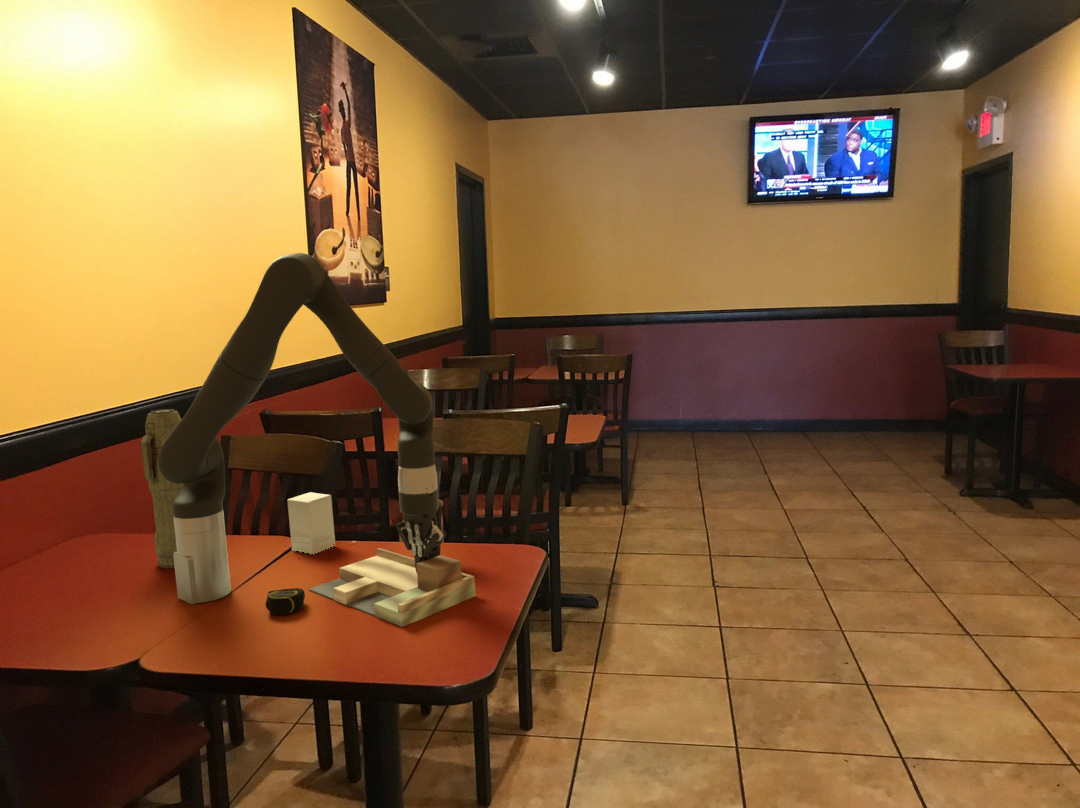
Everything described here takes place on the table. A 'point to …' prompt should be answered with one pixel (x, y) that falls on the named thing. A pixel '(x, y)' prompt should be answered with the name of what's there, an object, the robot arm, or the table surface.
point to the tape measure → (285, 600)
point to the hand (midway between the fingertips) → (422, 572)
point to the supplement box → (311, 522)
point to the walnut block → (438, 572)
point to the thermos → (161, 482)
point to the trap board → (393, 589)
